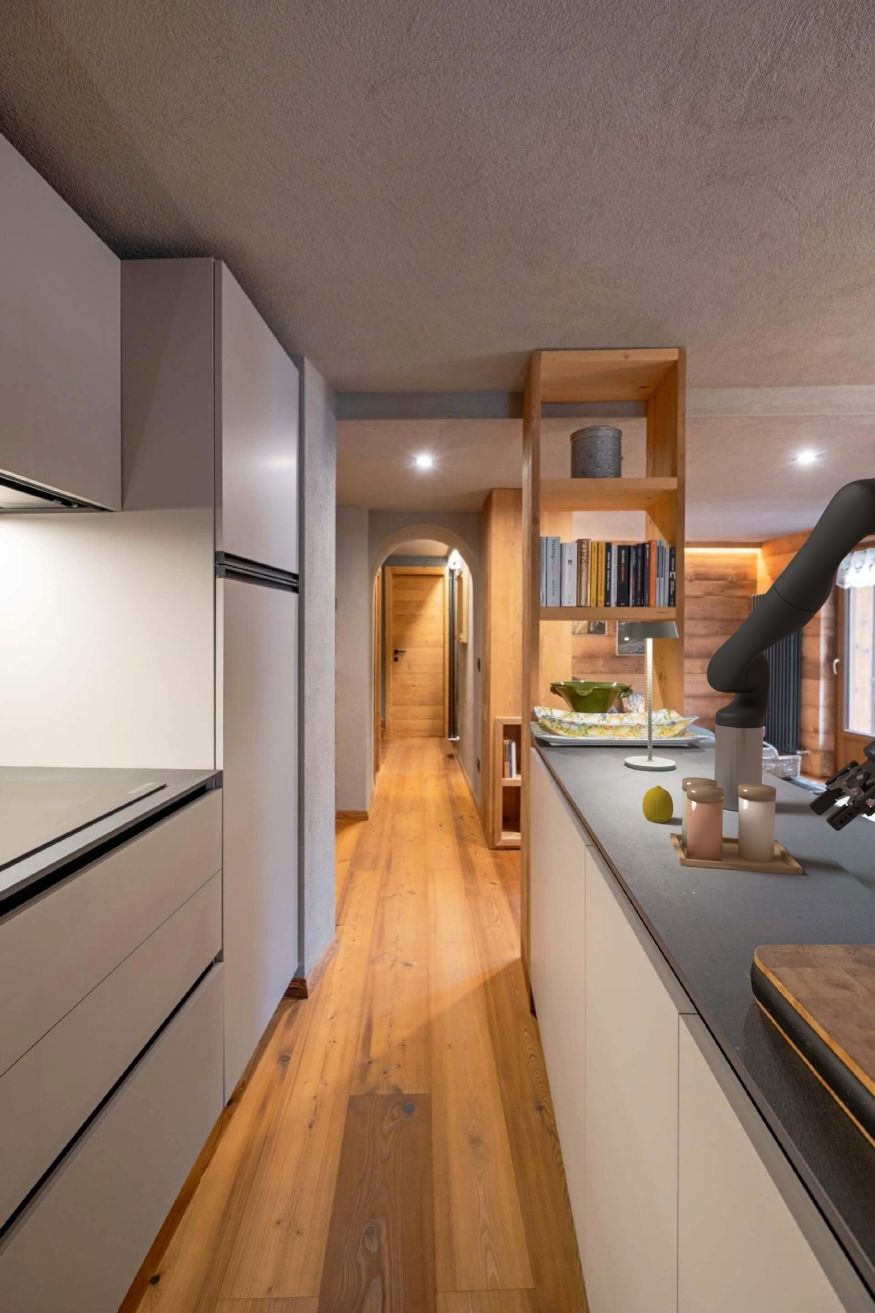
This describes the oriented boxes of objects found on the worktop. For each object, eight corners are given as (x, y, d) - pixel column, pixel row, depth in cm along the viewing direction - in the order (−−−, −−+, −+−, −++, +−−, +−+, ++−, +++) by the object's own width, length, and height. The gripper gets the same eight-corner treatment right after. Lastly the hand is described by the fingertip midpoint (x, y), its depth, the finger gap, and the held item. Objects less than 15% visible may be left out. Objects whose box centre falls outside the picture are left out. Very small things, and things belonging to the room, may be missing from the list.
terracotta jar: (683, 851, 109) (684, 784, 109) (719, 853, 108) (720, 785, 108) (688, 862, 104) (689, 791, 103) (725, 865, 103) (727, 793, 102)
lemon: (675, 832, 124) (675, 789, 124) (643, 831, 125) (644, 788, 125) (670, 824, 130) (671, 783, 129) (640, 822, 131) (641, 781, 130)
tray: (669, 846, 116) (670, 833, 116) (776, 853, 113) (777, 840, 113) (680, 875, 103) (680, 860, 103) (802, 884, 99) (803, 869, 99)
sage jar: (679, 841, 115) (680, 776, 114) (712, 843, 113) (714, 778, 113) (683, 851, 109) (684, 783, 109) (719, 853, 108) (720, 785, 108)
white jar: (733, 849, 110) (734, 782, 110) (769, 851, 109) (771, 784, 108) (741, 860, 105) (742, 790, 104) (778, 863, 104) (780, 792, 103)
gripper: (869, 723, 109) (790, 790, 112) (909, 736, 95) (818, 812, 98) (906, 757, 108) (825, 823, 111) (951, 775, 94) (858, 851, 97)
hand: (821, 818), depth 104 cm, fingers open, 8 cm apart
